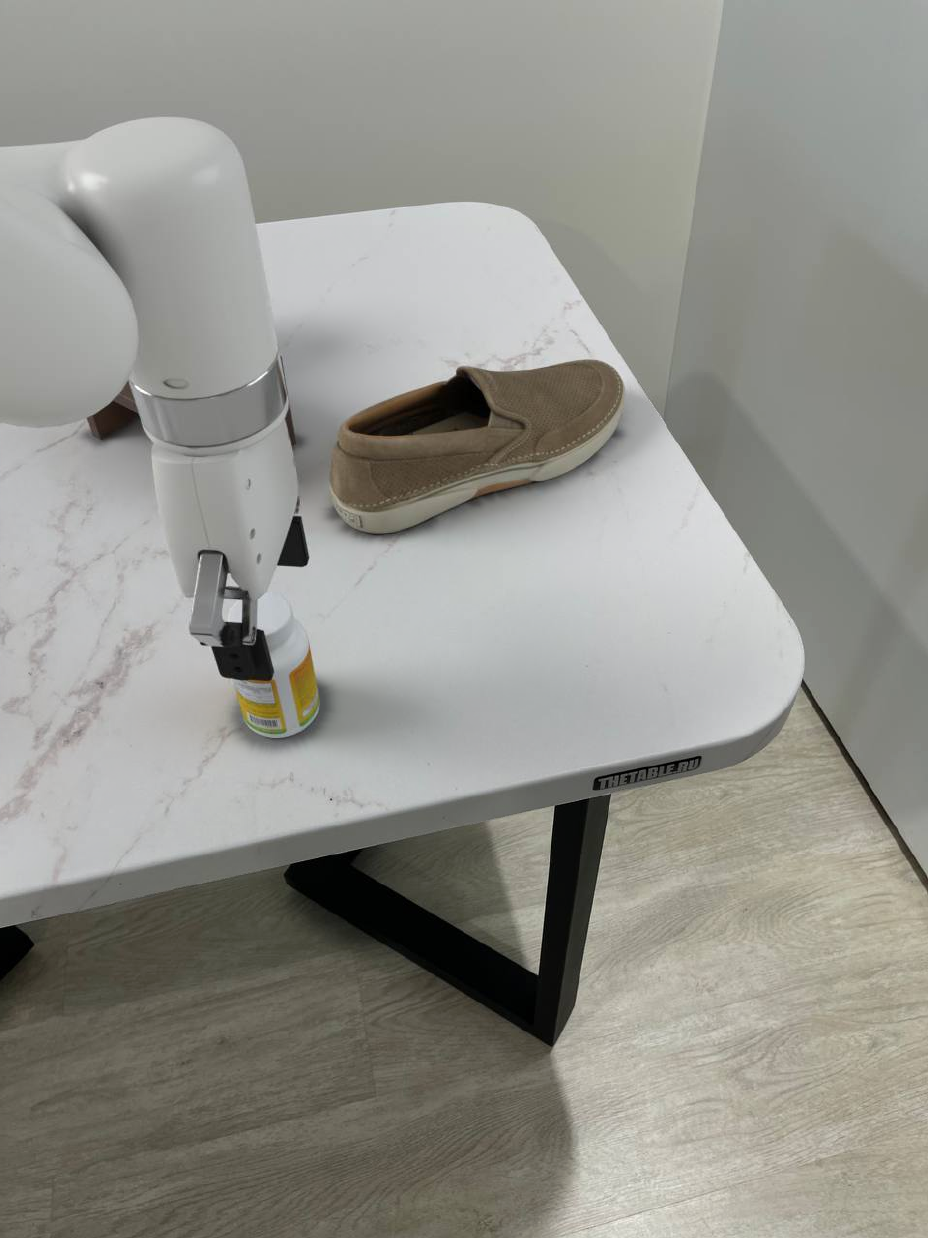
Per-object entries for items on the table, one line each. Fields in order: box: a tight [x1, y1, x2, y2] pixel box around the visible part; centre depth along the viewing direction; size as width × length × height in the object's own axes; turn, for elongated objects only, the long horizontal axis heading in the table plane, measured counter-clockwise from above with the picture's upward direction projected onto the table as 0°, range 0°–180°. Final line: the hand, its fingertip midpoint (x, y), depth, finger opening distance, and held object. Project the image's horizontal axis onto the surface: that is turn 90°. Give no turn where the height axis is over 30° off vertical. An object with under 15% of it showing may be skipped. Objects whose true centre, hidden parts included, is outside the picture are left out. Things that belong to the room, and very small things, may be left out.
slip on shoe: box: [329, 358, 626, 534], centre depth 86 cm, size 30×11×9 cm, turn 121°
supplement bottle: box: [227, 591, 320, 739], centre depth 67 cm, size 5×5×10 cm
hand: (267, 616), depth 64 cm, fingers open, 9 cm apart
